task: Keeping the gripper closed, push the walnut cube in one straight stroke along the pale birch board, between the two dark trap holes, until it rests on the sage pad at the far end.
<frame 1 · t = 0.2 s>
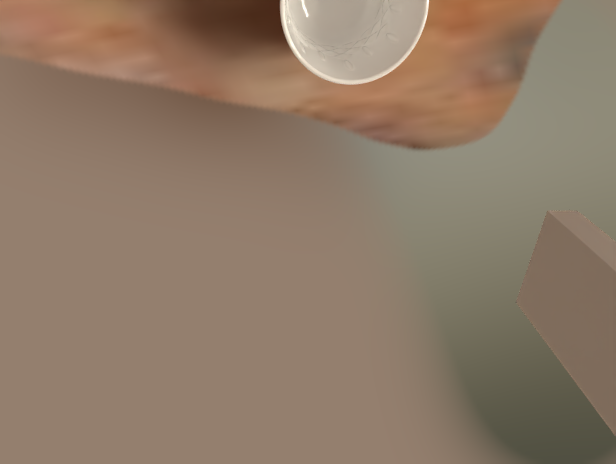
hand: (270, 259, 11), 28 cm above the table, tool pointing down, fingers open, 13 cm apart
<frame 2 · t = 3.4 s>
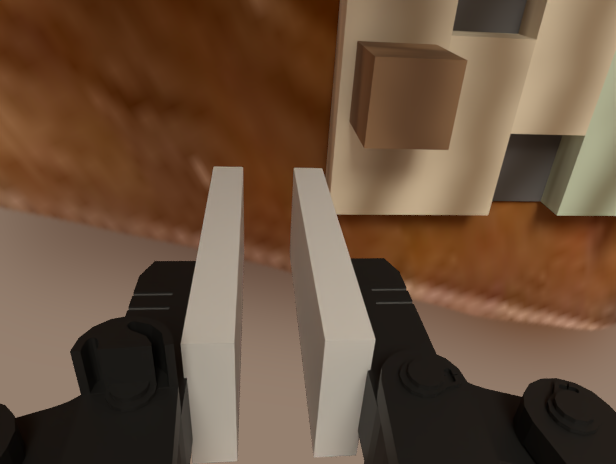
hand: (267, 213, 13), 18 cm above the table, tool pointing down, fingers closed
walnut cube: (391, 84, 28), point 2 cm above the table, touching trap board
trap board: (504, 79, 31), on the table
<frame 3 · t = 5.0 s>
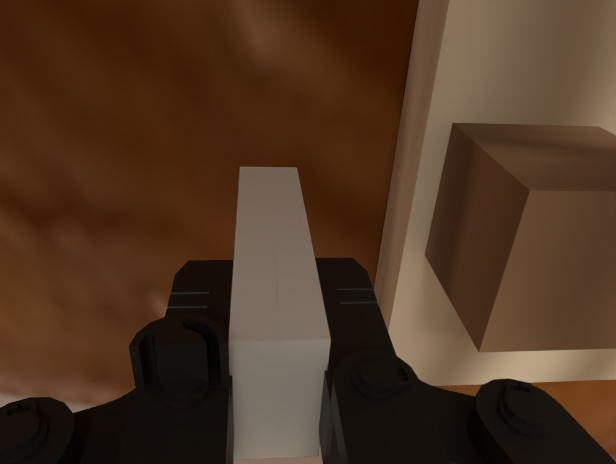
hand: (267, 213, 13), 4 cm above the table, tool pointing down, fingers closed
walnut cube: (506, 194, 15), point 2 cm above the table, touching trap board
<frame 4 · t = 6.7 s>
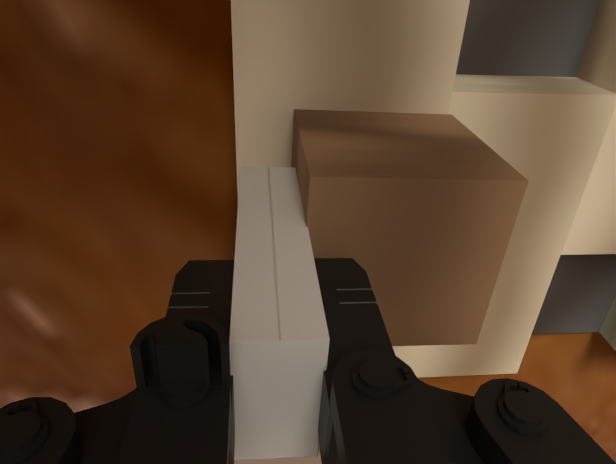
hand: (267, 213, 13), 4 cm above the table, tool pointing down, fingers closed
walnut cube: (364, 185, 15), point 3 cm above the table, touching gripper
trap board: (546, 153, 17), on the table
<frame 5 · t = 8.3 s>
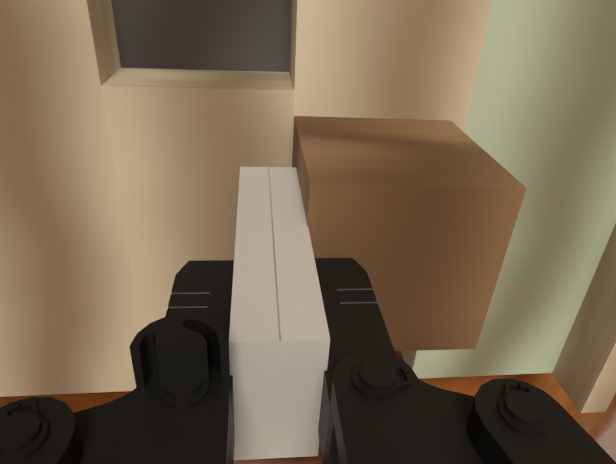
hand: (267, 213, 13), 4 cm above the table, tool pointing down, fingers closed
walnut cube: (364, 190, 15), point 3 cm above the table, touching gripper
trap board: (286, 153, 16), on the table
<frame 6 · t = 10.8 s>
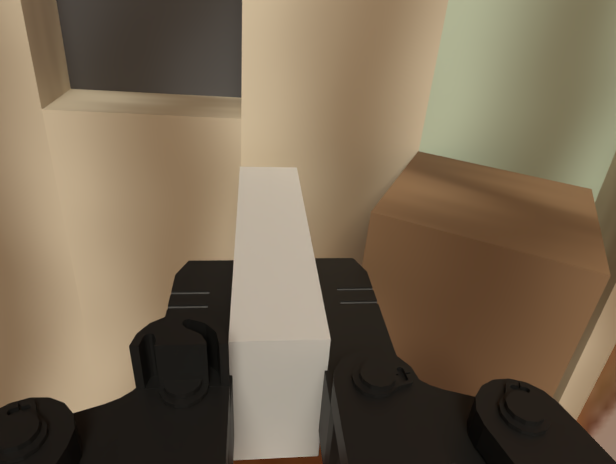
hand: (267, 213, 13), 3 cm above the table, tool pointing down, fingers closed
walnut cube: (478, 240, 14), point 4 cm above the table, tilted 29°, touching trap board
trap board: (242, 177, 16), on the table
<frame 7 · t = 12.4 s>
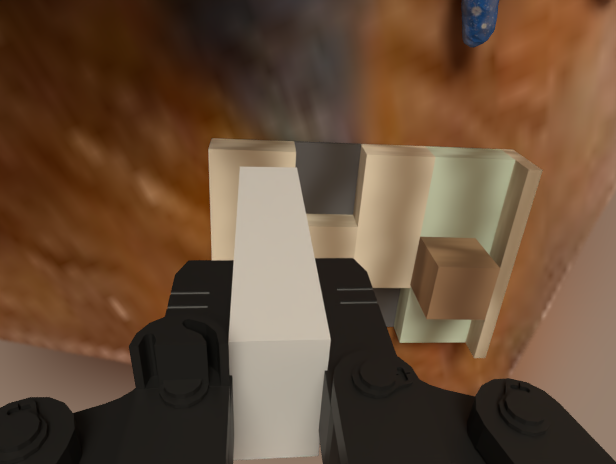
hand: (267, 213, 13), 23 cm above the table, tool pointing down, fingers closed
walnut cube: (442, 262, 39), point 2 cm above the table, touching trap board
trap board: (348, 243, 40), on the table
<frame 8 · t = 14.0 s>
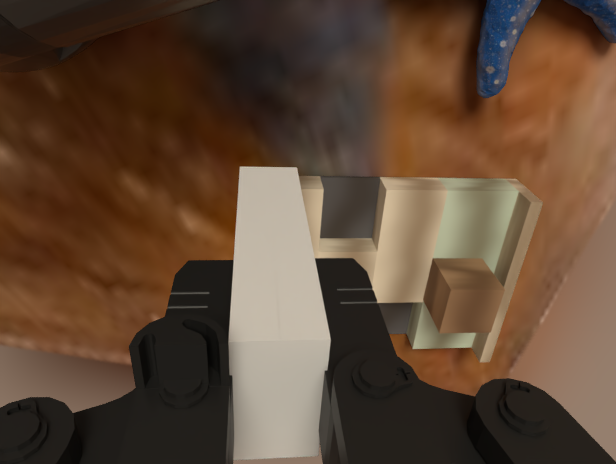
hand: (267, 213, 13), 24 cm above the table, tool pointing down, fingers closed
walnut cube: (452, 279, 43), point 2 cm above the table, touching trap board
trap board: (367, 262, 44), on the table
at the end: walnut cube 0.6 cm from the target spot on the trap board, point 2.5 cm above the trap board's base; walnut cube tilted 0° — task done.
